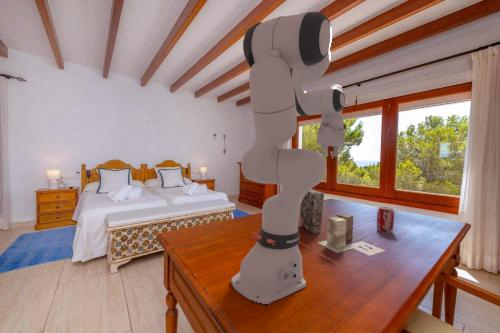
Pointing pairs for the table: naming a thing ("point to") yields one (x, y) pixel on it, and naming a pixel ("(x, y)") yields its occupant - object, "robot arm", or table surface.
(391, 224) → the soda can
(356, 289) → the table surface
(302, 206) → the stone block
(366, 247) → the tile
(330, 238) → the birch block
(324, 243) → the sage mat
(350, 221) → the walnut block
